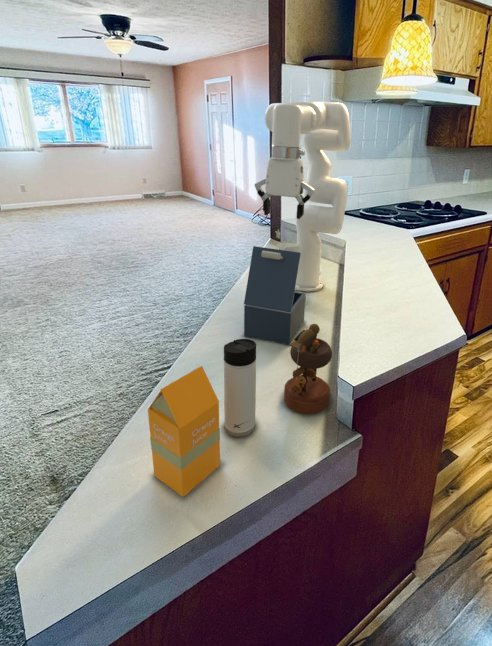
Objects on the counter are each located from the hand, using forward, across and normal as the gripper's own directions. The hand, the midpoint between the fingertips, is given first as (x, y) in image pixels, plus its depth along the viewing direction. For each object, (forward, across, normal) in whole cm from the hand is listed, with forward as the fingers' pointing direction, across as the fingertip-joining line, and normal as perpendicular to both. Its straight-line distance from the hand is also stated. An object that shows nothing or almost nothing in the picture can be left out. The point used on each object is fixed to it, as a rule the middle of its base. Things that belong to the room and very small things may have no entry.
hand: (283, 216), depth 117 cm
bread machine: (+34, 0, +4) cm, 35 cm away
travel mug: (+34, -8, +48) cm, 60 cm away
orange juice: (+34, -3, +62) cm, 71 cm away
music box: (+34, -18, +34) cm, 52 cm away
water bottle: (+34, +5, -23) cm, 42 cm away
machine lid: (+16, 0, +8) cm, 18 cm away
